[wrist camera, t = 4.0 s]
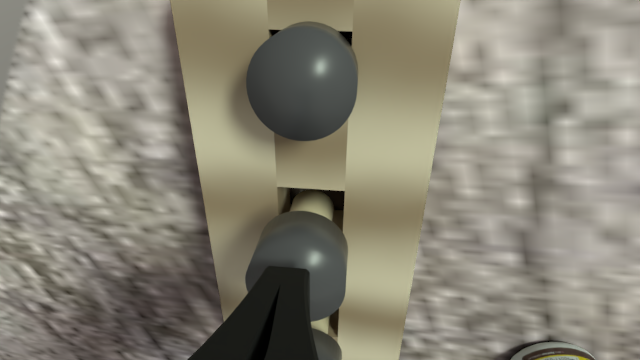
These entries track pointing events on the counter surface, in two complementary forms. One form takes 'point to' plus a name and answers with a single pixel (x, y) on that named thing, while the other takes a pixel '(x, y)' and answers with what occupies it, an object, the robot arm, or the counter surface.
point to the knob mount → (322, 146)
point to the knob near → (303, 81)
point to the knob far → (325, 341)
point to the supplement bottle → (553, 352)
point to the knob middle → (306, 250)
